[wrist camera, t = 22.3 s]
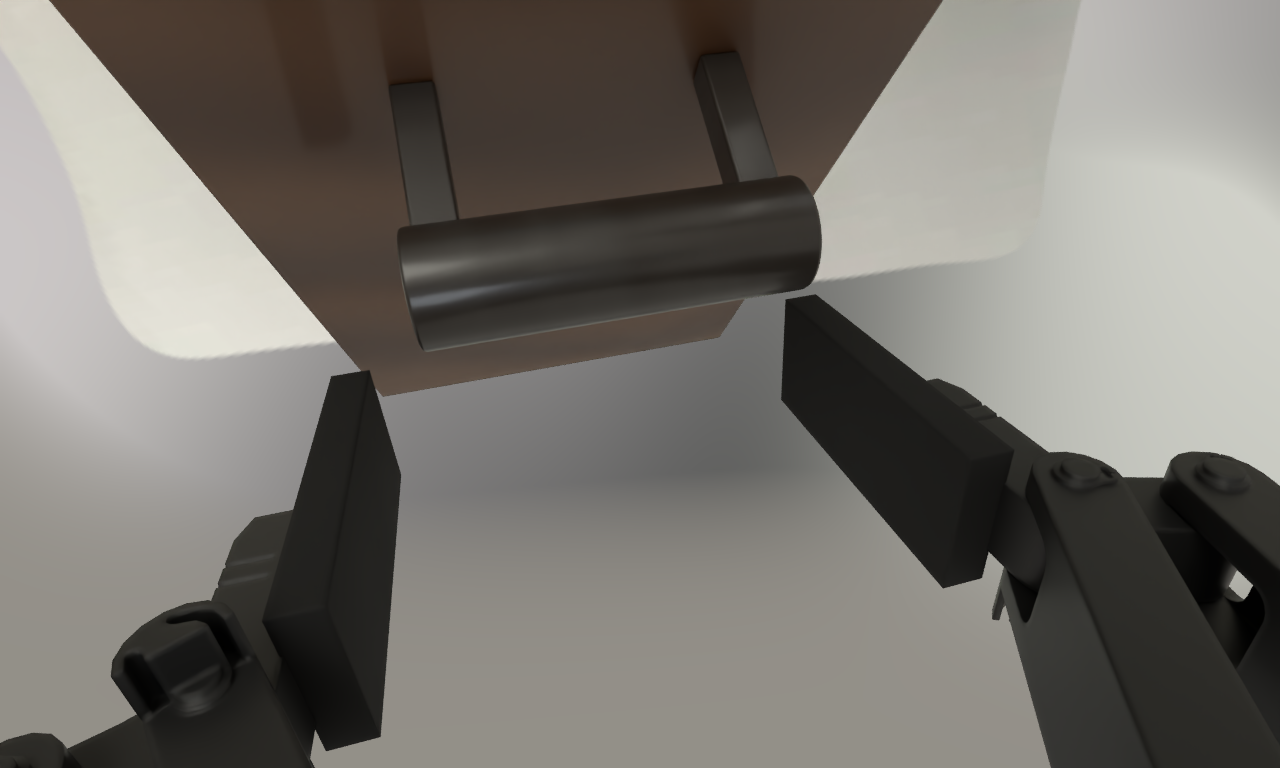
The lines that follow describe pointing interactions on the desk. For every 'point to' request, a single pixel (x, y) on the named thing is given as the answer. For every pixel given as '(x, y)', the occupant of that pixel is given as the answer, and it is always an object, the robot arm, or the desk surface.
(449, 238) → the box lid
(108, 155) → the desk surface
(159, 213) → the desk surface
